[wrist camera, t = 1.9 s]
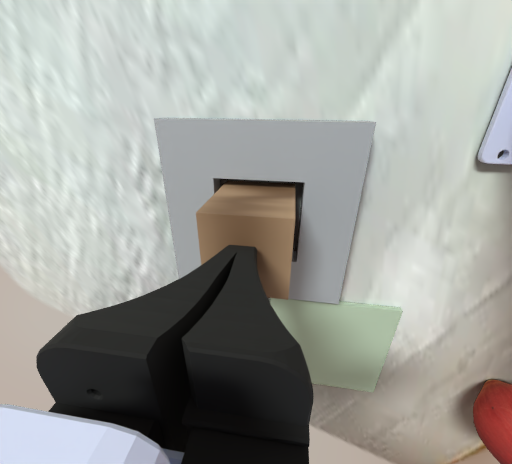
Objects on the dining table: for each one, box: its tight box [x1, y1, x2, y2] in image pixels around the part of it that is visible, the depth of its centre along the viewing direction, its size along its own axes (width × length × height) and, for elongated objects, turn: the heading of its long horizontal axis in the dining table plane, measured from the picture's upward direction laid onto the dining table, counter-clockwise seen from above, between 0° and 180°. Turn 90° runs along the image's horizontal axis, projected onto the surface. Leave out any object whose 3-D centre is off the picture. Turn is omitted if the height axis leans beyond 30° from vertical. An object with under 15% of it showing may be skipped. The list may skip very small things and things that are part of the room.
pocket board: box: [154, 118, 376, 304], centre depth 17 cm, size 12×12×2 cm
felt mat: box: [270, 298, 403, 392], centre depth 22 cm, size 10×10×1 cm
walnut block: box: [196, 180, 295, 300], centre depth 15 cm, size 4×4×6 cm
